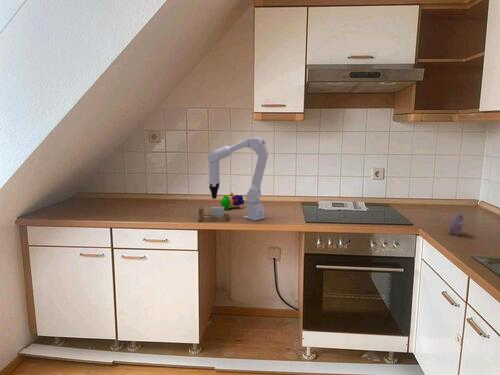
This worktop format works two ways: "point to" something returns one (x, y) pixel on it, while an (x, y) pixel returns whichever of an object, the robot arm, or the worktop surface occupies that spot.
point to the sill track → (210, 218)
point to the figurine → (456, 224)
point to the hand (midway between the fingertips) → (214, 197)
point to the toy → (232, 201)
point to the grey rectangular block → (217, 211)
